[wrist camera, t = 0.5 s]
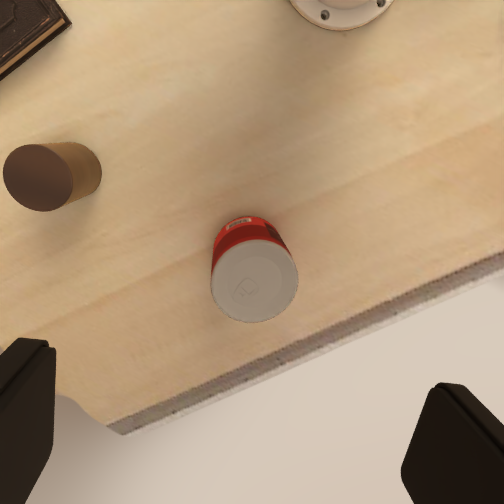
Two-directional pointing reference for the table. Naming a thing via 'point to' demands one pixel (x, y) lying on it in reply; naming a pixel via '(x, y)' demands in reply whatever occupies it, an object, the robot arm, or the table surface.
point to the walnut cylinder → (51, 174)
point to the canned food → (252, 271)
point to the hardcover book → (27, 29)
